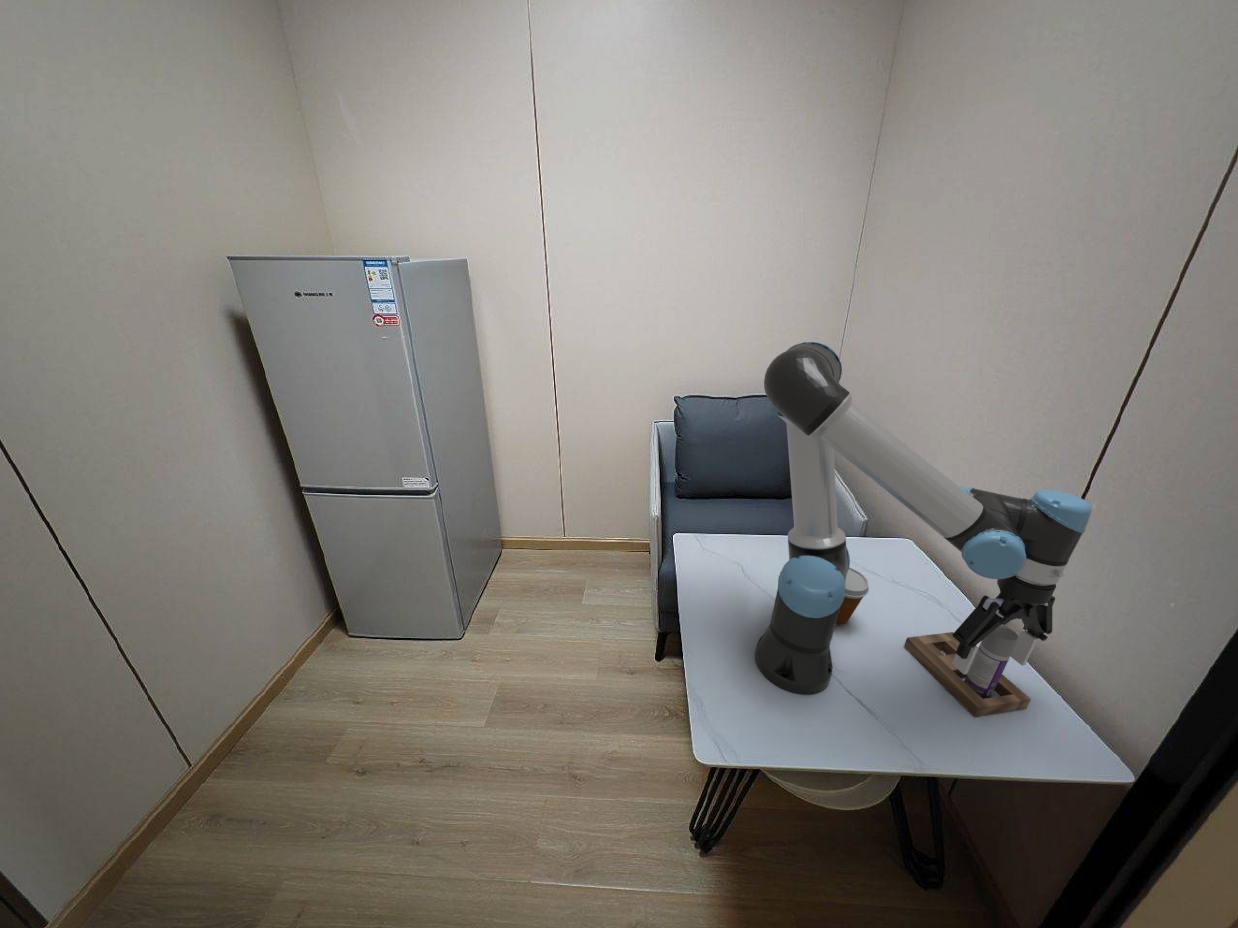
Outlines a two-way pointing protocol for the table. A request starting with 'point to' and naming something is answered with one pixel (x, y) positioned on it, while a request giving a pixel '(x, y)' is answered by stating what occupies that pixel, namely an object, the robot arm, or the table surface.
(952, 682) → the socket board
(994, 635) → the container
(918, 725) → the table surface
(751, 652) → the table surface
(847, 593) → the disposable coffee cup
